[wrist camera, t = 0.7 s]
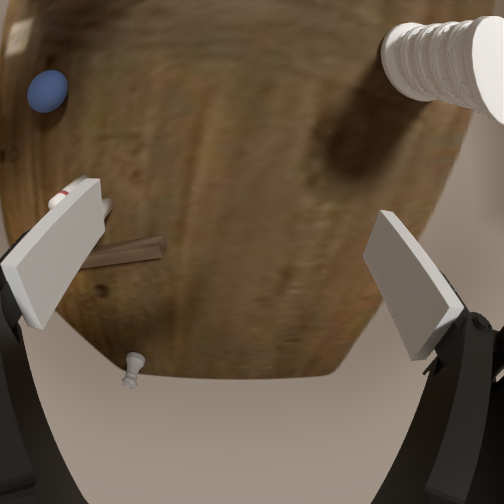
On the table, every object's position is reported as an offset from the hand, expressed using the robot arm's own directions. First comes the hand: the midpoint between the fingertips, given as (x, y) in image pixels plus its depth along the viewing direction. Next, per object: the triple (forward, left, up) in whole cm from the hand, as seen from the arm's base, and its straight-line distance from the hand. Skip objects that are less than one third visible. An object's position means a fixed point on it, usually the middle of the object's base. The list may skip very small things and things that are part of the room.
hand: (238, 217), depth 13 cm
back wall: (+15, -24, -26) cm, 38 cm away
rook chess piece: (+43, -31, -26) cm, 59 cm away
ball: (-12, -24, -23) cm, 35 cm away
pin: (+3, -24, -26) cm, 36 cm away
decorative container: (-8, +25, -26) cm, 37 cm away
